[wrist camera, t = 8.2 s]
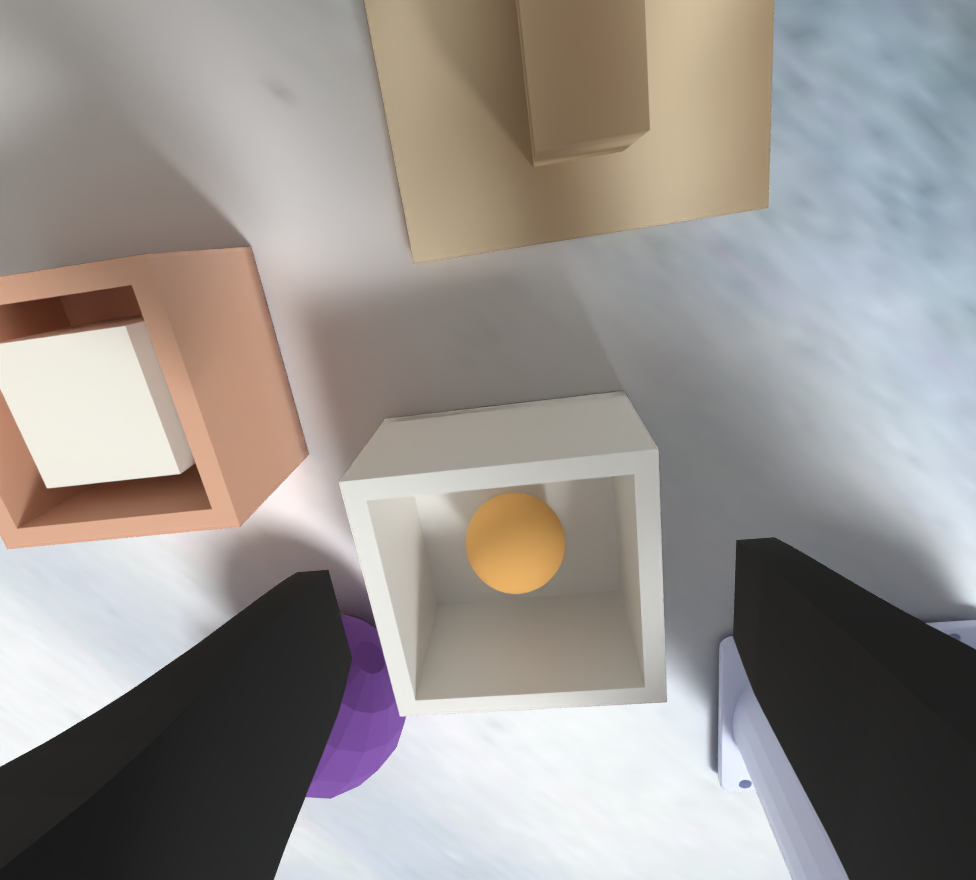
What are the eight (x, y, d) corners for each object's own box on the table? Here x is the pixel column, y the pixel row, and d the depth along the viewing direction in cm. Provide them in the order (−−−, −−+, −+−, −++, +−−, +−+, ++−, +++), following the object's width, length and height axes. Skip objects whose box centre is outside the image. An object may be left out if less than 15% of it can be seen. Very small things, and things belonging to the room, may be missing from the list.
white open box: (623, 390, 18) (658, 448, 13) (635, 594, 21) (666, 702, 16) (385, 418, 19) (338, 482, 14) (427, 610, 21) (400, 716, 17)
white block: (212, 304, 17) (125, 325, 13) (249, 424, 18) (180, 474, 15) (96, 321, 18) (-20, 346, 14) (141, 437, 19) (47, 488, 15)
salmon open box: (250, 246, 17) (146, 253, 12) (309, 454, 19) (239, 526, 15) (46, 278, 18) (-125, 296, 13) (127, 474, 20) (7, 549, 15)
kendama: (42, 900, 24) (246, 656, 16) (155, 780, 29) (347, 556, 21) (145, 990, 24) (399, 792, 16) (238, 854, 29) (460, 657, 21)
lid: (760, -258, 13) (886, -524, 8) (751, 209, 16) (837, 202, 12) (345, -152, 14) (256, -333, 9) (421, 261, 17) (383, 273, 13)
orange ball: (557, 471, 18) (563, 519, 15) (566, 553, 20) (573, 611, 17) (463, 481, 19) (452, 529, 16) (477, 560, 20) (469, 619, 17)
